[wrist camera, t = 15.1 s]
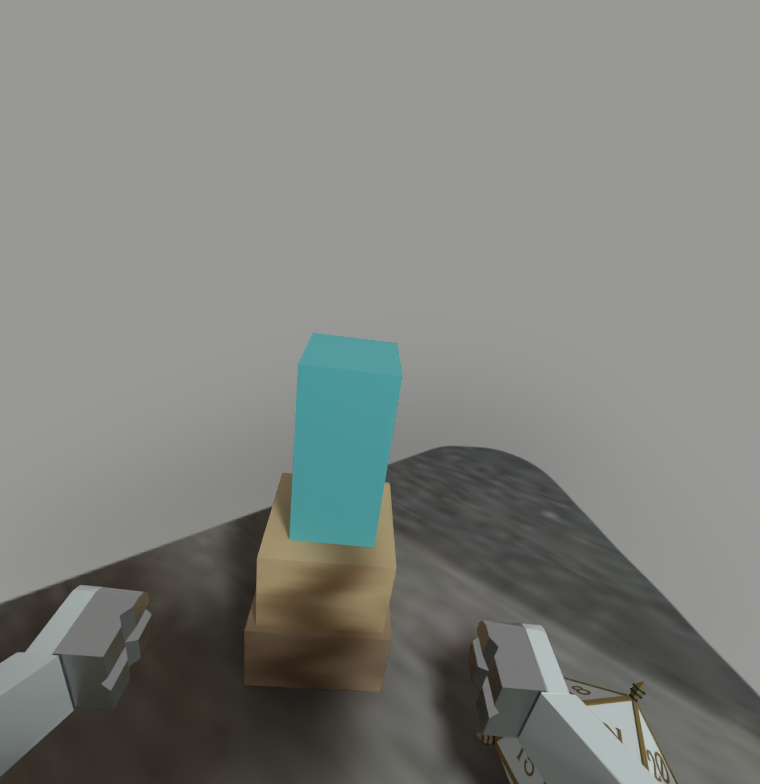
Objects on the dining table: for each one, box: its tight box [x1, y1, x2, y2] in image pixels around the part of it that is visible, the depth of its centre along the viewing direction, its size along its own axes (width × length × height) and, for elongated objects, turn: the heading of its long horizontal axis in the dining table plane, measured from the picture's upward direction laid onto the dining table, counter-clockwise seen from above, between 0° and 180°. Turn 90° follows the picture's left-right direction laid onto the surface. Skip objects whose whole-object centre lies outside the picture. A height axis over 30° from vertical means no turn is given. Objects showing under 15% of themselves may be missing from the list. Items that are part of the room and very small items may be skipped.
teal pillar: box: [289, 333, 402, 548], centre depth 22 cm, size 4×4×10 cm
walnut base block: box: [244, 591, 392, 692], centre depth 28 cm, size 8×8×5 cm
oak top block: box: [256, 473, 396, 633], centre depth 25 cm, size 7×7×5 cm
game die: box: [476, 677, 678, 784], centre depth 20 cm, size 9×8×10 cm
